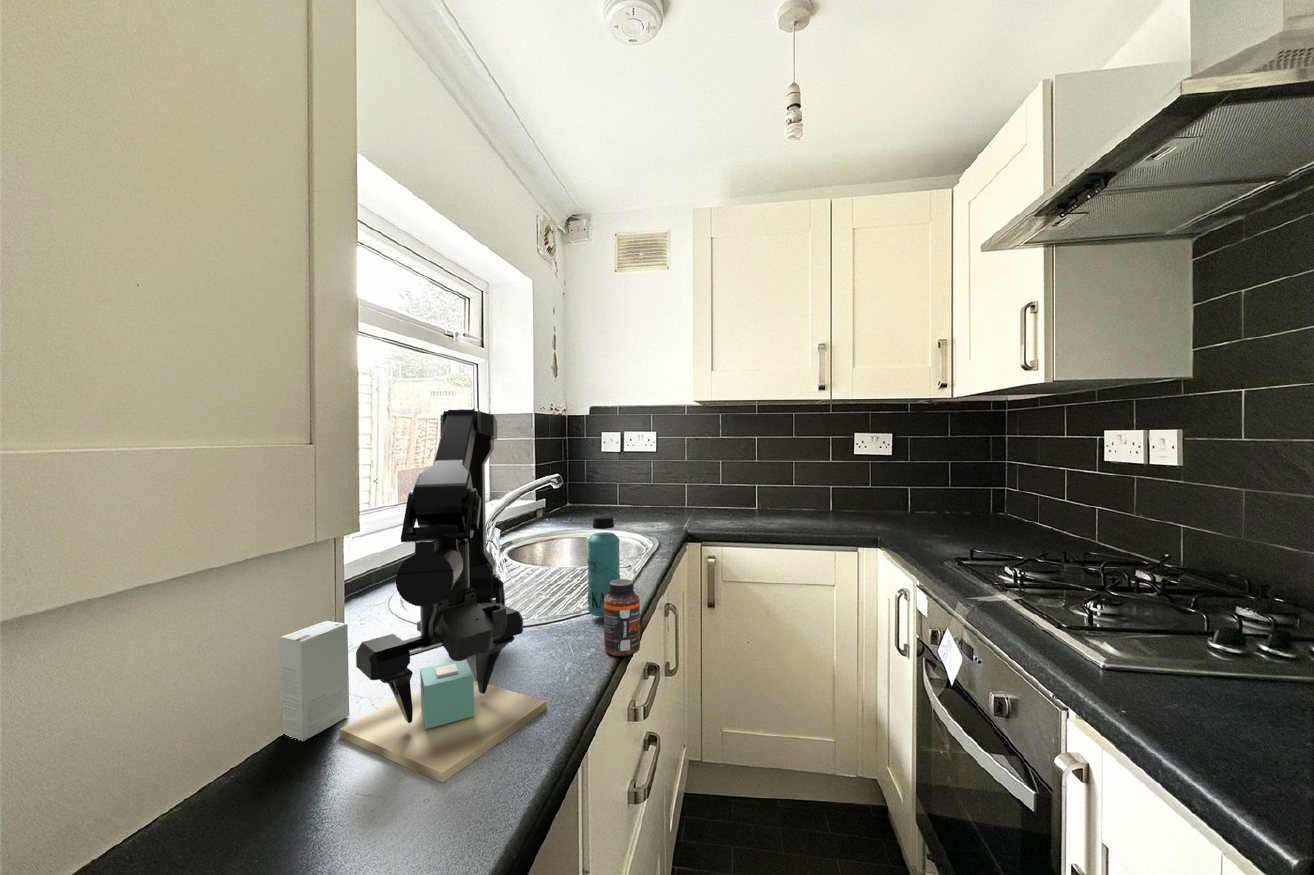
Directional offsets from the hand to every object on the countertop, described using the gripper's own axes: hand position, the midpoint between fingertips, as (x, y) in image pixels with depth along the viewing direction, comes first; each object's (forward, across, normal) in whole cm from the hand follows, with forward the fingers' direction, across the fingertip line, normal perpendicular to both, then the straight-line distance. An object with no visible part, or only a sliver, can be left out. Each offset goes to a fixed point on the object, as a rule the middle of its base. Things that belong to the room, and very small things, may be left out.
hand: (447, 706), depth 64 cm
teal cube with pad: (+1, 0, 0) cm, 1 cm away
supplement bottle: (+2, +29, 0) cm, 29 cm away
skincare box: (+2, -12, +11) cm, 16 cm away
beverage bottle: (+2, +37, +13) cm, 39 cm away
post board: (+2, 0, 0) cm, 2 cm away
